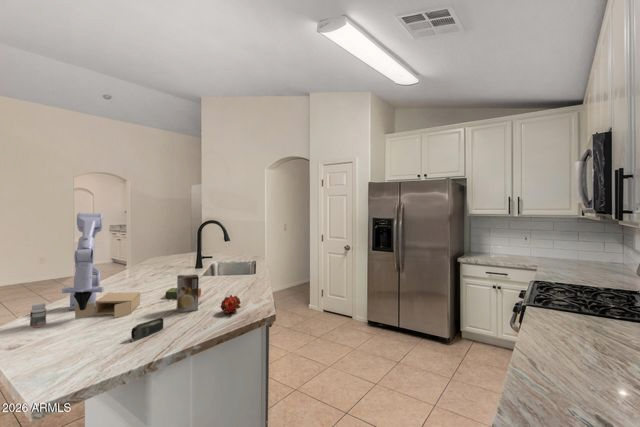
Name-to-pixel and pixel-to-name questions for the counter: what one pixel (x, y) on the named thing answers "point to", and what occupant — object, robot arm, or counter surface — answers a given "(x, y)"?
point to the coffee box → (187, 292)
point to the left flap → (86, 312)
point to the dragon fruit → (230, 304)
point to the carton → (173, 293)
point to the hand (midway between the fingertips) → (82, 309)
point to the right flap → (122, 309)
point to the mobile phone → (146, 329)
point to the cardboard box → (116, 302)
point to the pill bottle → (38, 315)
